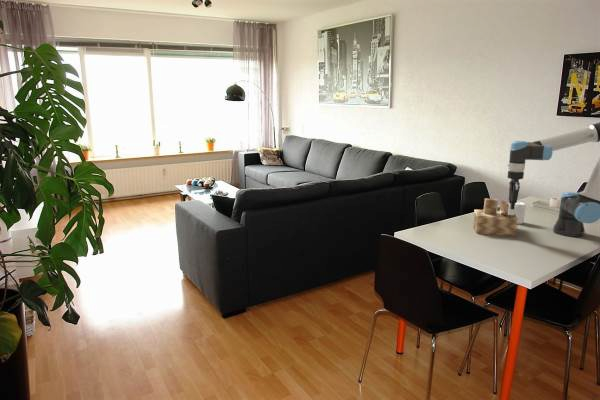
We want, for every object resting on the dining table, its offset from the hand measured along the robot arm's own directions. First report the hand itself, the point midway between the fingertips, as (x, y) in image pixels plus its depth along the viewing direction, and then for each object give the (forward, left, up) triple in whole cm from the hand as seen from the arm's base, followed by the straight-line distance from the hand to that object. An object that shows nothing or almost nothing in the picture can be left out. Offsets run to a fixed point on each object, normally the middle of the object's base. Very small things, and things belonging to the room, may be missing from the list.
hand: (511, 214), depth 235 cm
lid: (+6, -9, -4) cm, 12 cm away
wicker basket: (+6, -12, -13) cm, 19 cm away
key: (0, -12, -2) cm, 13 cm away
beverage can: (-10, -32, -13) cm, 36 cm away
